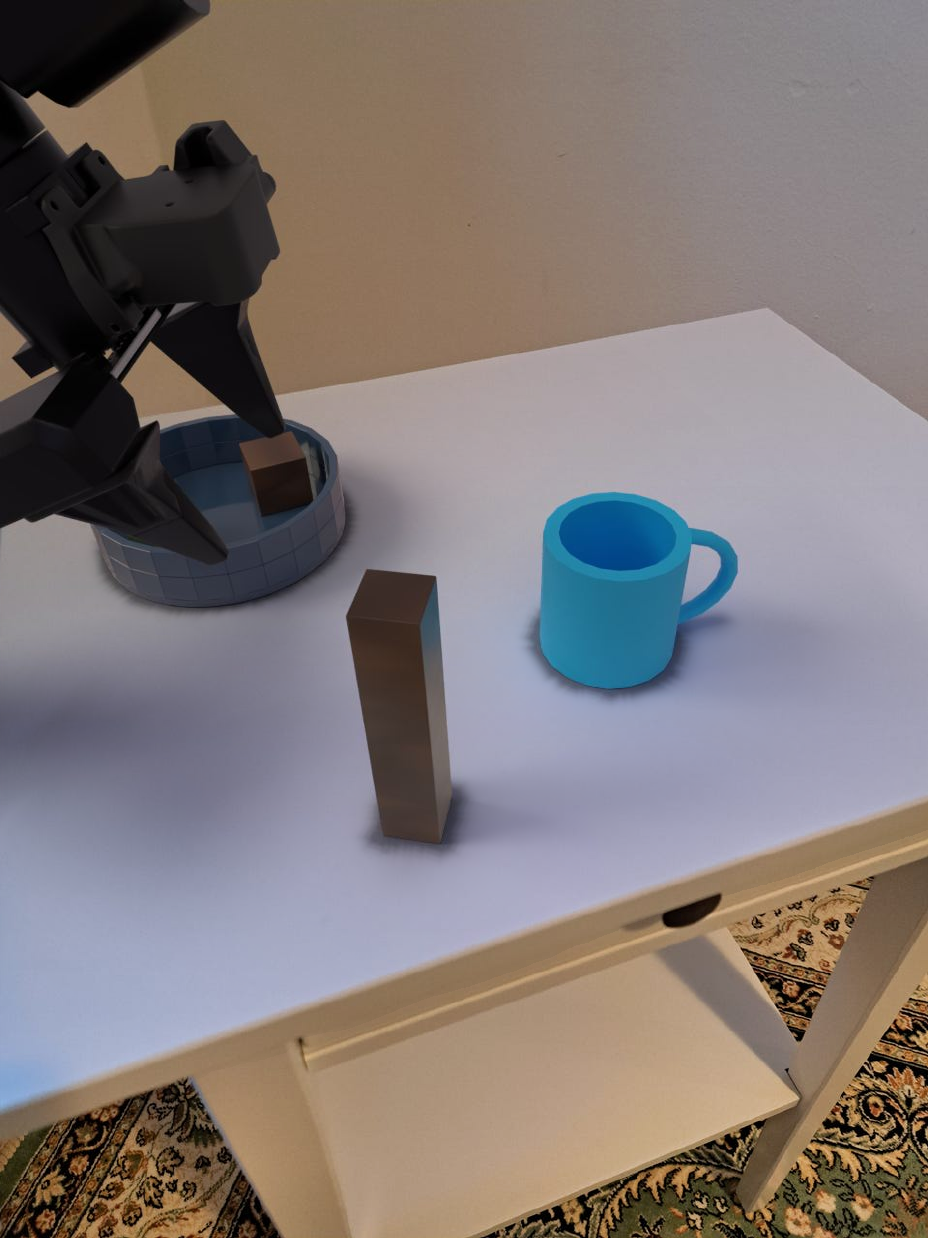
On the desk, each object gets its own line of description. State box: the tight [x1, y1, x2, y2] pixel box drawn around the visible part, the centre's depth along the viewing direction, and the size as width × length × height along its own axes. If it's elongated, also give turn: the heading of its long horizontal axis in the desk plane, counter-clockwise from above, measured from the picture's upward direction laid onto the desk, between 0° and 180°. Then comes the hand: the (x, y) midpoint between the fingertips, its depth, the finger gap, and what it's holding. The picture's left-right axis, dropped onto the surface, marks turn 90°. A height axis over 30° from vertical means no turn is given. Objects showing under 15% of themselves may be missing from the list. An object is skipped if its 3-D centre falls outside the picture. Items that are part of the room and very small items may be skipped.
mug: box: [539, 491, 739, 690], centre depth 52 cm, size 12×8×8 cm
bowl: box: [89, 413, 347, 608], centre depth 63 cm, size 17×17×4 cm
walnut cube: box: [239, 431, 313, 516], centre depth 65 cm, size 4×4×4 cm
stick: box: [345, 568, 453, 845], centre depth 40 cm, size 3×3×15 cm
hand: (251, 492), depth 41 cm, fingers open, 9 cm apart
